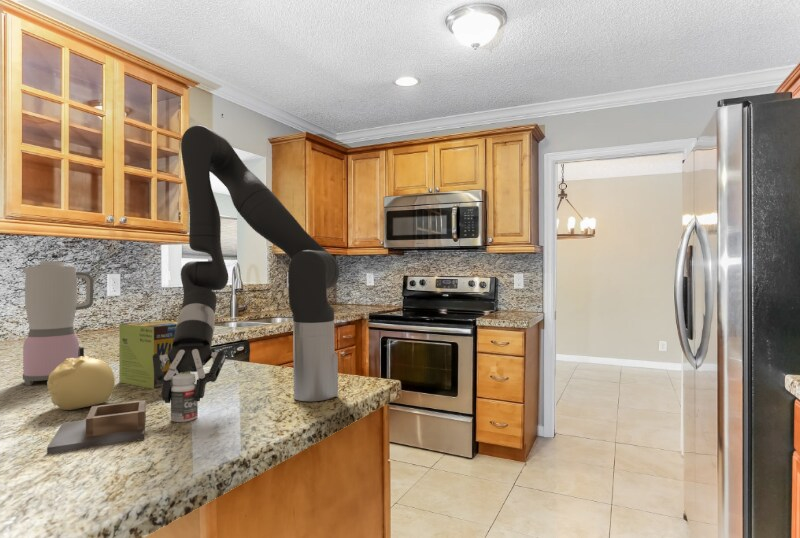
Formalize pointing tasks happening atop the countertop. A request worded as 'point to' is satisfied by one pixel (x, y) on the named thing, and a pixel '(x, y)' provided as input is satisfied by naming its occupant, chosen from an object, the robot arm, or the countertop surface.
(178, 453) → the countertop surface
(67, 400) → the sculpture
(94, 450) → the countertop surface
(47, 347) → the blender
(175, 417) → the pill bottle
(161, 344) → the protein box
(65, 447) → the socket dock
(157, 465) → the countertop surface
